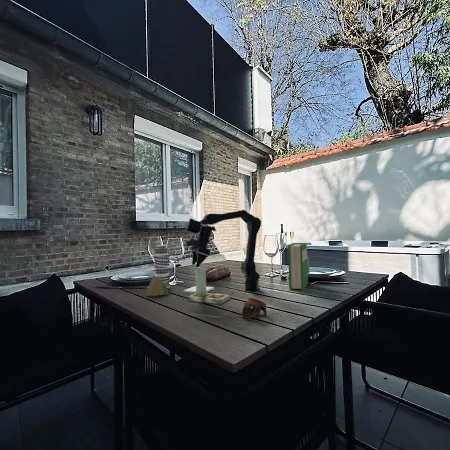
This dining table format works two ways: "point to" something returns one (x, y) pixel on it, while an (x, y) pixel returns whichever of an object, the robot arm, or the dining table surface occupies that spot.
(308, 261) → the coffee box
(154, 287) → the rock
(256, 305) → the brown lumpy piece
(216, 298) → the frame
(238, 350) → the dining table surface
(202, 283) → the round block
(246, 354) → the dining table surface
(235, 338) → the dining table surface
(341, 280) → the dining table surface
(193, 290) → the board
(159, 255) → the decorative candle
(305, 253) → the hardback book
